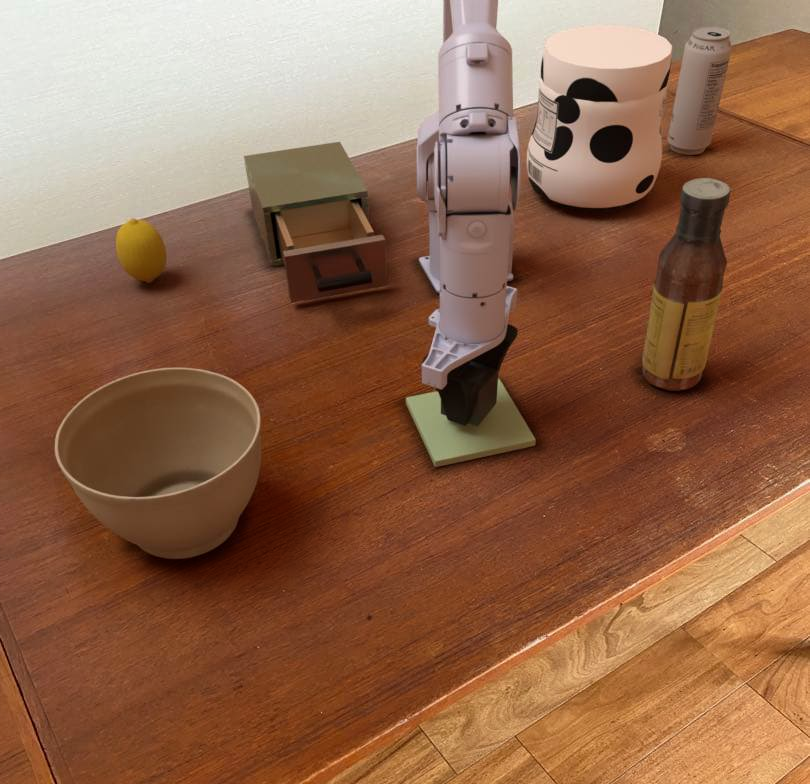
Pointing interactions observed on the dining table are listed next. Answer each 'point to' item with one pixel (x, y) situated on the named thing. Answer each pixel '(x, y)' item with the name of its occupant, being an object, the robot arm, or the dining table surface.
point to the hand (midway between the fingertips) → (469, 407)
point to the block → (483, 395)
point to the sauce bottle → (687, 289)
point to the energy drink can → (699, 90)
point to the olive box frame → (300, 184)
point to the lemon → (141, 250)
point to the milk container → (599, 117)
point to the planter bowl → (164, 458)
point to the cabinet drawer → (329, 250)
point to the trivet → (469, 429)
